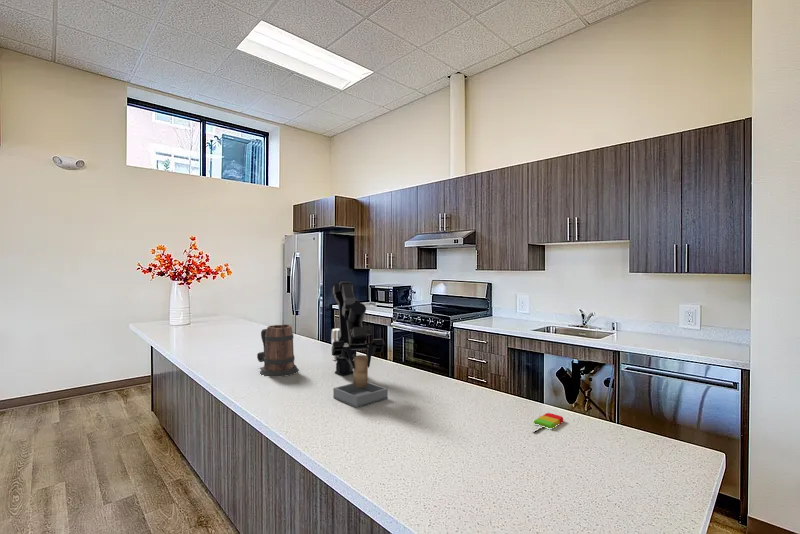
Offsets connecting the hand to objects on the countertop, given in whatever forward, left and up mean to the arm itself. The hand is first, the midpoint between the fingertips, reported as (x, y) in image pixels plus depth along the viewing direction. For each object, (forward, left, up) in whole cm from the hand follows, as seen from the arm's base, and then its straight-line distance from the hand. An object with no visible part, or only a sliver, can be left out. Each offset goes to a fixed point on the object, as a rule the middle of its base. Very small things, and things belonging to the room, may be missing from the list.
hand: (361, 367), depth 140 cm
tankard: (+4, -56, -11) cm, 57 cm away
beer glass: (-28, -53, -11) cm, 61 cm away
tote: (-1, -1, -11) cm, 11 cm away
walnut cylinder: (-1, -1, -7) cm, 7 cm away
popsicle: (-26, +55, -12) cm, 62 cm away
